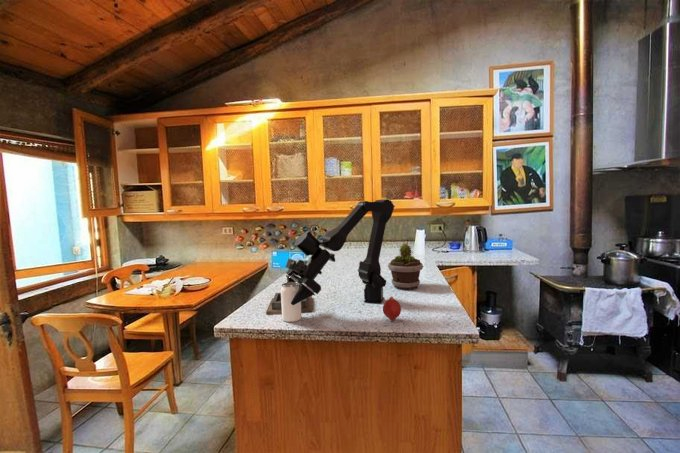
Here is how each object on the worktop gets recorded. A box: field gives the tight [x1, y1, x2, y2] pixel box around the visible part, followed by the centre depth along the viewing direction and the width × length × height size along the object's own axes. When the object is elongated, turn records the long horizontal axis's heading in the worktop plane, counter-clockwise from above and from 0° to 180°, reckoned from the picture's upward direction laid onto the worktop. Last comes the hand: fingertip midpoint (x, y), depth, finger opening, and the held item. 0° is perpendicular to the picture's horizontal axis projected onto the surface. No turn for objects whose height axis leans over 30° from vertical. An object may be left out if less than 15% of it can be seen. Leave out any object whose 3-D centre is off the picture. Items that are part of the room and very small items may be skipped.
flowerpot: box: [387, 242, 424, 291], centre depth 144 cm, size 14×15×20 cm
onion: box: [382, 296, 402, 322], centre depth 106 cm, size 6×6×8 cm
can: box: [280, 282, 302, 323], centre depth 111 cm, size 6×6×12 cm
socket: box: [265, 292, 313, 315], centre depth 125 cm, size 16×16×4 cm
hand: (287, 300), depth 110 cm, fingers open, 9 cm apart
